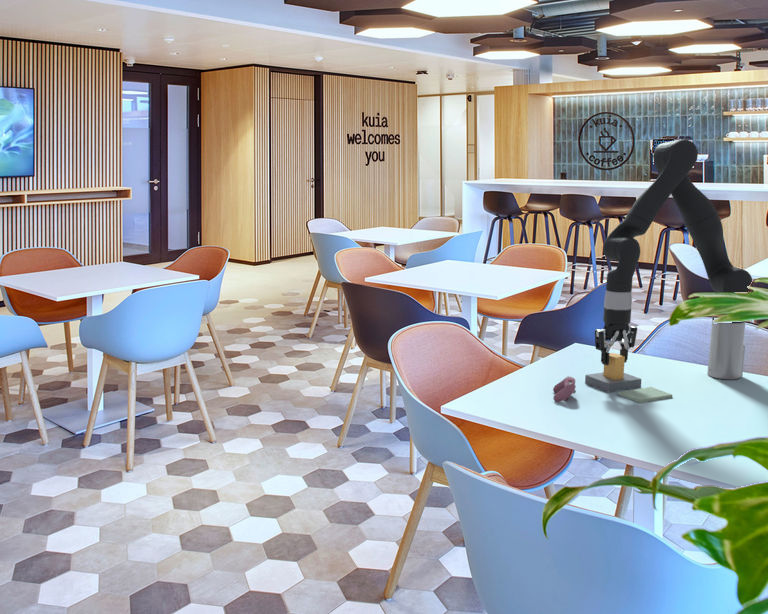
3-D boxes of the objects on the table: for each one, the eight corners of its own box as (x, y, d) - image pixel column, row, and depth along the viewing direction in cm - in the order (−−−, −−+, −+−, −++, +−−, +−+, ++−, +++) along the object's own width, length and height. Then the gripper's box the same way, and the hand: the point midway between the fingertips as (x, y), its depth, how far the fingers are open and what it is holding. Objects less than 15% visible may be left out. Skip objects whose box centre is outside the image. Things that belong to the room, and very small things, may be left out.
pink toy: (567, 408, 212) (580, 387, 210) (551, 400, 212) (565, 378, 210) (566, 397, 221) (578, 377, 219) (551, 390, 222) (564, 369, 220)
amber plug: (611, 382, 231) (613, 352, 229) (622, 386, 227) (624, 356, 225) (602, 383, 230) (604, 354, 228) (613, 388, 225) (615, 357, 224)
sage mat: (651, 389, 224) (651, 386, 224) (672, 397, 217) (672, 394, 217) (618, 394, 219) (618, 391, 219) (638, 402, 212) (639, 399, 212)
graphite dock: (616, 378, 235) (617, 370, 235) (640, 387, 226) (641, 378, 226) (585, 383, 230) (585, 374, 230) (608, 392, 221) (608, 383, 221)
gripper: (627, 302, 230) (624, 357, 233) (589, 305, 224) (585, 362, 227) (646, 306, 224) (642, 363, 227) (606, 310, 217) (603, 369, 221)
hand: (614, 363), depth 227 cm, fingers open, 6 cm apart
